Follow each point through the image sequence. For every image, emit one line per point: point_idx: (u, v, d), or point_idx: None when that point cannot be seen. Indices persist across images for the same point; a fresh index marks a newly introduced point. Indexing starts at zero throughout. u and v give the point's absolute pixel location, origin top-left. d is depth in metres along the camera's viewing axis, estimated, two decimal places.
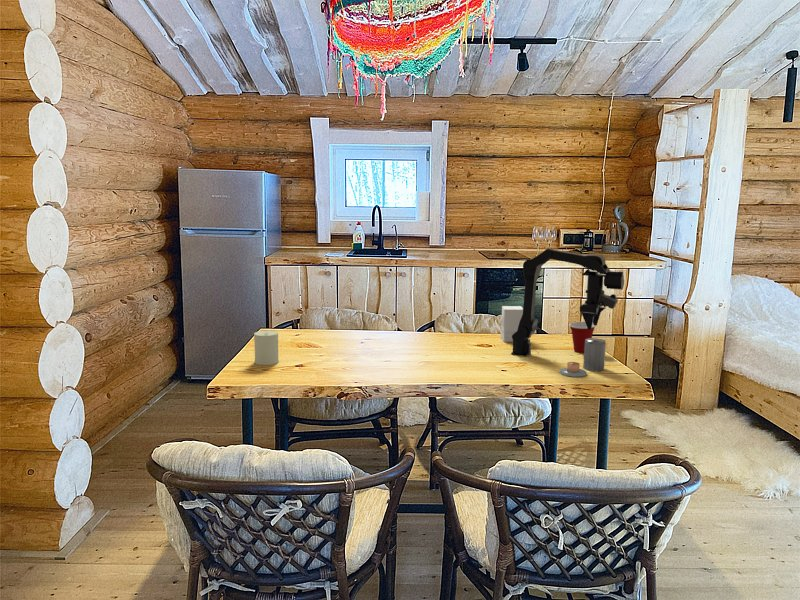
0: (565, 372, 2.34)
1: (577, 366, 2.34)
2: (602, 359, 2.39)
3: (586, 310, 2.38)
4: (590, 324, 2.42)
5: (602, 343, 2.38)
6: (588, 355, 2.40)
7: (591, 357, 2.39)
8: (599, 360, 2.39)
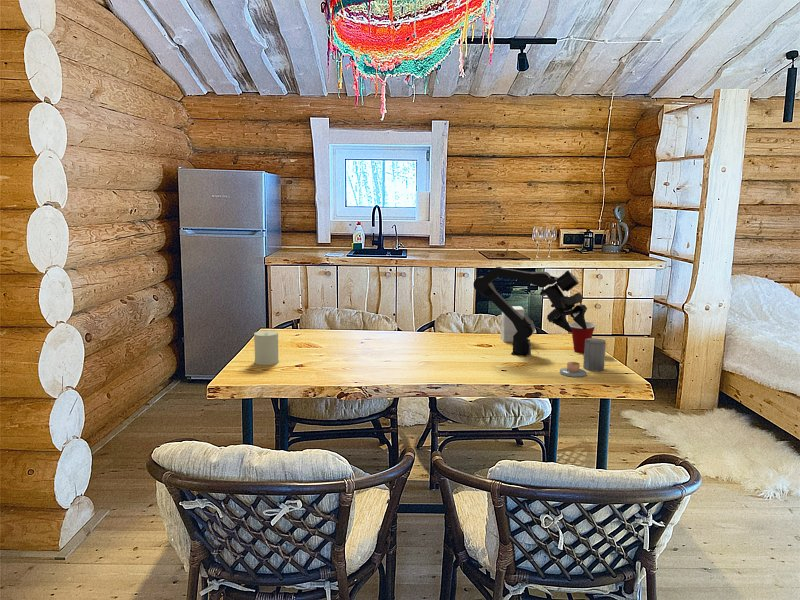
0: (565, 372, 2.34)
1: (577, 366, 2.34)
2: (602, 359, 2.39)
3: (551, 317, 2.45)
4: (567, 327, 2.44)
5: (602, 343, 2.38)
6: (588, 355, 2.40)
7: (591, 357, 2.39)
8: (599, 360, 2.39)
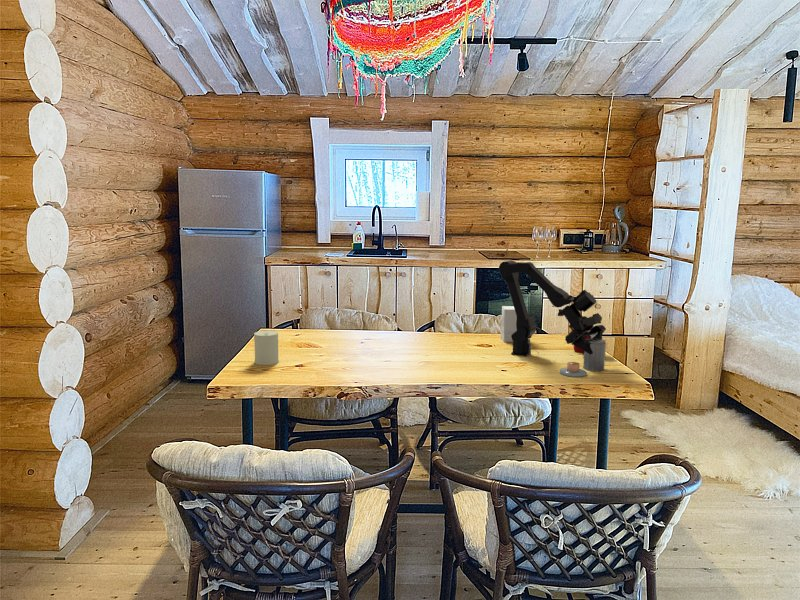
0: (565, 372, 2.34)
1: (577, 366, 2.34)
2: (602, 359, 2.39)
3: (570, 338, 2.39)
4: (587, 348, 2.39)
5: (602, 343, 2.38)
6: (588, 355, 2.40)
7: (591, 357, 2.39)
8: (599, 360, 2.39)
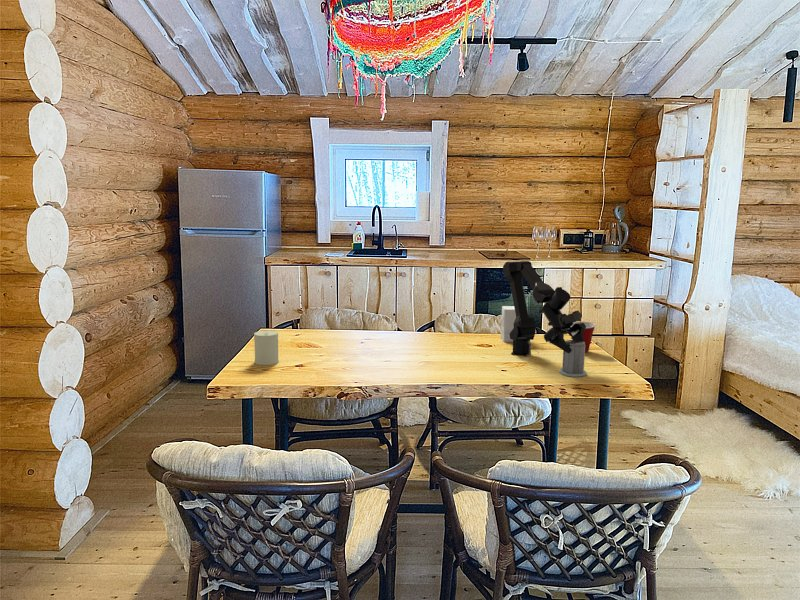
0: None
1: None
2: (581, 362, 2.32)
3: (548, 336, 2.32)
4: (565, 347, 2.31)
5: (581, 345, 2.31)
6: (567, 357, 2.33)
7: (570, 359, 2.32)
8: (578, 363, 2.32)
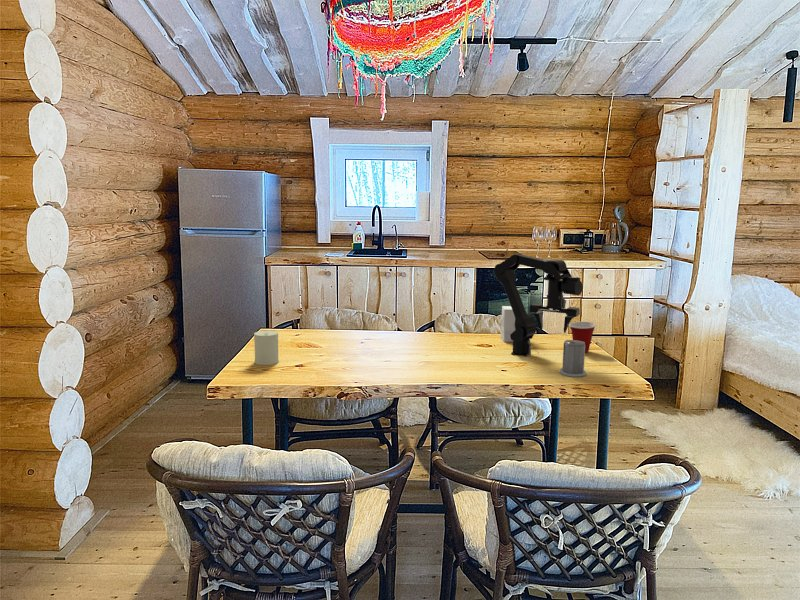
0: None
1: None
2: (581, 362, 2.32)
3: (577, 314, 2.45)
4: (567, 327, 2.48)
5: (581, 345, 2.31)
6: (567, 357, 2.33)
7: (570, 359, 2.32)
8: (578, 363, 2.32)
